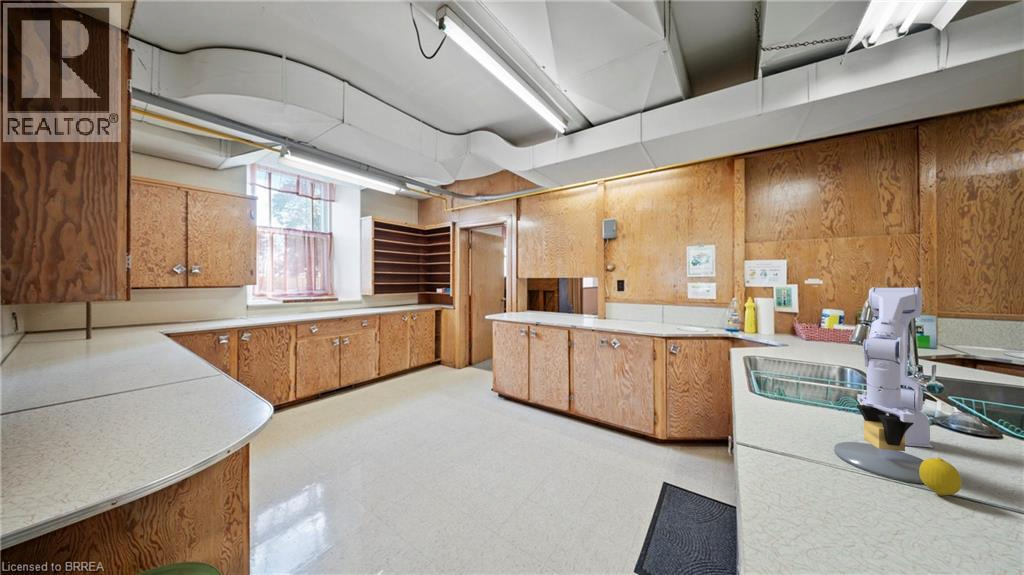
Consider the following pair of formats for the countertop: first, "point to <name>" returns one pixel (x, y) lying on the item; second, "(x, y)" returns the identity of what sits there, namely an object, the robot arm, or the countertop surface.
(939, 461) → the lemon
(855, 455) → the plate
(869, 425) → the cube
